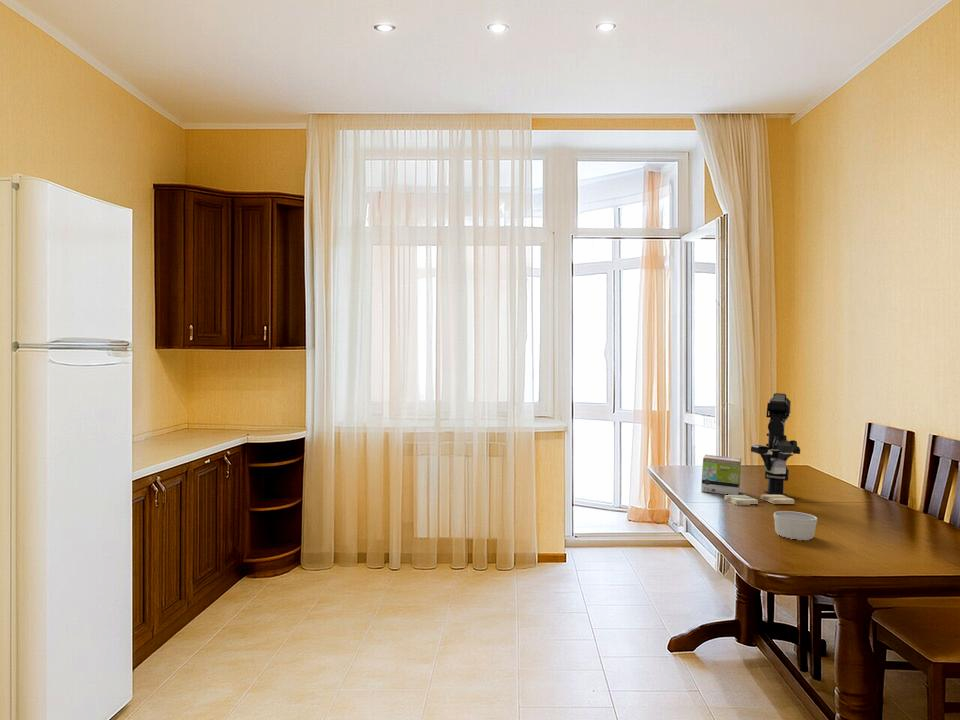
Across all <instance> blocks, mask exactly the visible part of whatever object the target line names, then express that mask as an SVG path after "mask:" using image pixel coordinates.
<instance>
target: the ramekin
mask: <svg viewBox="0 0 960 720" xmlns="http://www.w3.org/2000/svg"><path fill="white" fill-rule="evenodd" d="M773 518H774V530H775V533H776V534H777V536H779V535H780V536H782V537H781V538H783V537H786V538H785V539H787V538H790V539H789V540H792V539H797V540H796V541H802V540H804V541H810V539H811V540H812V539H813V538H814V536H815V533H816V527H817V523H818V517H817V516H815V515H813V514H810V513H805V512H802V511H801V512H799V511H794V510H793V511H791V510H779V511H775V512H773ZM780 536H779V537H780Z"/></svg>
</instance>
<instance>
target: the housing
mask: <svg viewBox="0 0 960 720" xmlns="http://www.w3.org/2000/svg"><path fill="white" fill-rule="evenodd" d="M786 466H787V461H784V460H780V459H776V458H771V464H770V471H767V468H766V466H765V463H764V462H763V471H764V472H765V471H767V472H770V473H773V474H786Z"/></svg>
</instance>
